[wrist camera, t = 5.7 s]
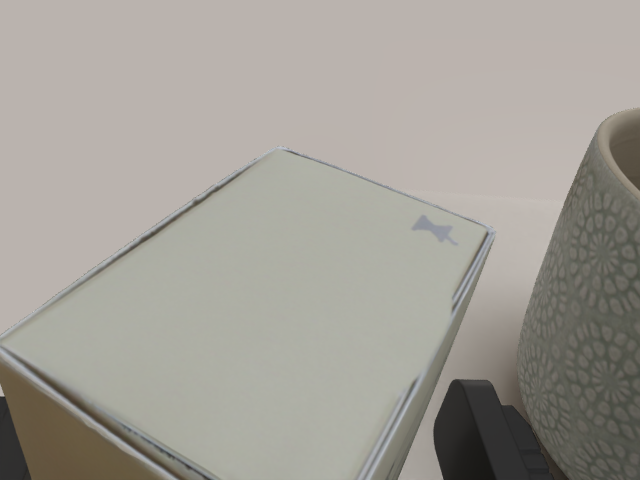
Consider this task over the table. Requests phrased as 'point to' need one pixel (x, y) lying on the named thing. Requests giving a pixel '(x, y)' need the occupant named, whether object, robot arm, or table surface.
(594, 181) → the planter
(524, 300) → the table surface
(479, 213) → the table surface
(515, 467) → the robot arm
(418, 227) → the cosmetic box
